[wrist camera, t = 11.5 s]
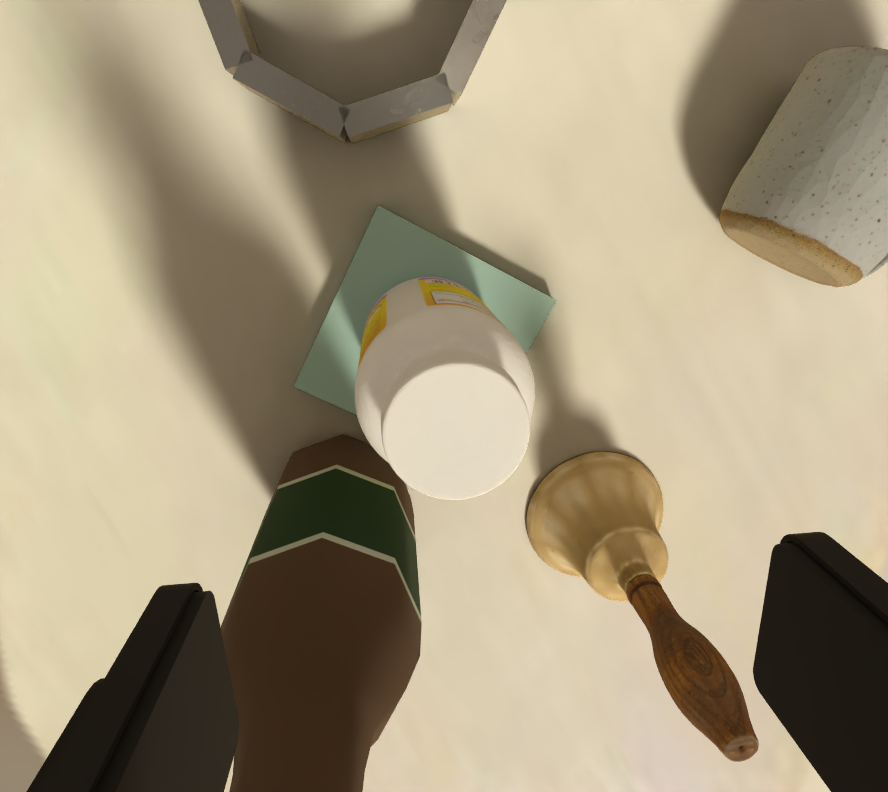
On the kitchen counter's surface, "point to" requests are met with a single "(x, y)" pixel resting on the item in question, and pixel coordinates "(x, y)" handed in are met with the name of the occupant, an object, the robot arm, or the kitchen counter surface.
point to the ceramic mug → (820, 173)
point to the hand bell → (637, 581)
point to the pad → (385, 266)
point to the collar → (363, 115)
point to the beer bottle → (323, 622)
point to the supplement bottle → (443, 389)
